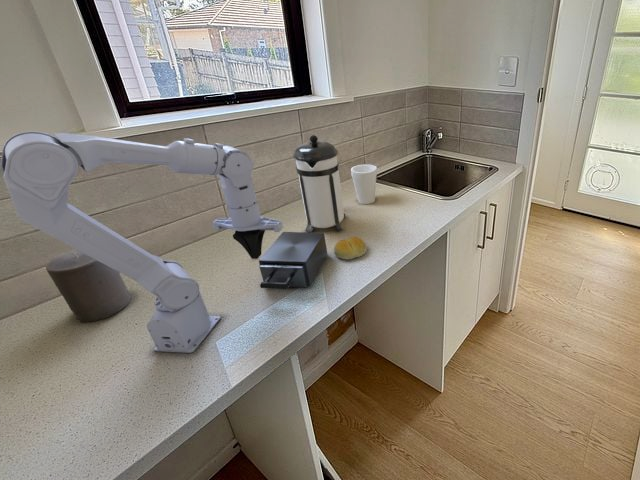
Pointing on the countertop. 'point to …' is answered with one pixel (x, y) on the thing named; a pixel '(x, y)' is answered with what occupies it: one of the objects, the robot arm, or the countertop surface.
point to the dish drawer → (282, 276)
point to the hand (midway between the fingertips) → (256, 256)
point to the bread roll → (350, 248)
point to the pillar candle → (88, 286)
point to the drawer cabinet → (298, 252)
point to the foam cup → (364, 182)
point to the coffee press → (320, 184)
